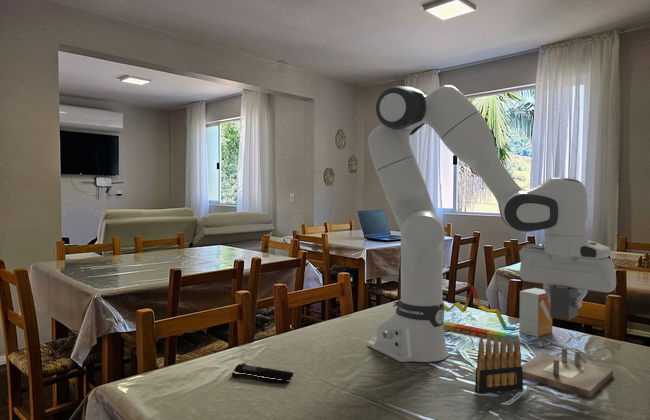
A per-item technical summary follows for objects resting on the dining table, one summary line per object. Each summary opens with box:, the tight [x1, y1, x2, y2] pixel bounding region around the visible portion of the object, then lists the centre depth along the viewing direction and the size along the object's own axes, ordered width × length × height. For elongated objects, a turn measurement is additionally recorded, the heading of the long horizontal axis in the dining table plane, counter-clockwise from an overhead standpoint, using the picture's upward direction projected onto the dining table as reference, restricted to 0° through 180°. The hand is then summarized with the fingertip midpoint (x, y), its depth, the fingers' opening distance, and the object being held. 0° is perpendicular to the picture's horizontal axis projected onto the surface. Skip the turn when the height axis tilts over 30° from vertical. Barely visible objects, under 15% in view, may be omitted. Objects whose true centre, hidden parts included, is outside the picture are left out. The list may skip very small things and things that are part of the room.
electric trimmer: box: [231, 363, 294, 383], centre depth 105 cm, size 4×16×3 cm, turn 70°
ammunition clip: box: [474, 334, 524, 395], centre depth 98 cm, size 11×2×12 cm, turn 101°
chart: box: [443, 285, 517, 344], centre depth 138 cm, size 30×3×15 cm, turn 50°
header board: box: [521, 347, 614, 399], centre depth 105 cm, size 16×16×5 cm
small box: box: [518, 287, 553, 338], centre depth 137 cm, size 8×6×13 cm
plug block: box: [550, 285, 580, 321], centre depth 104 cm, size 4×6×7 cm, turn 132°
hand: (564, 304), depth 104 cm, fingers closed on plug block, 4 cm apart
